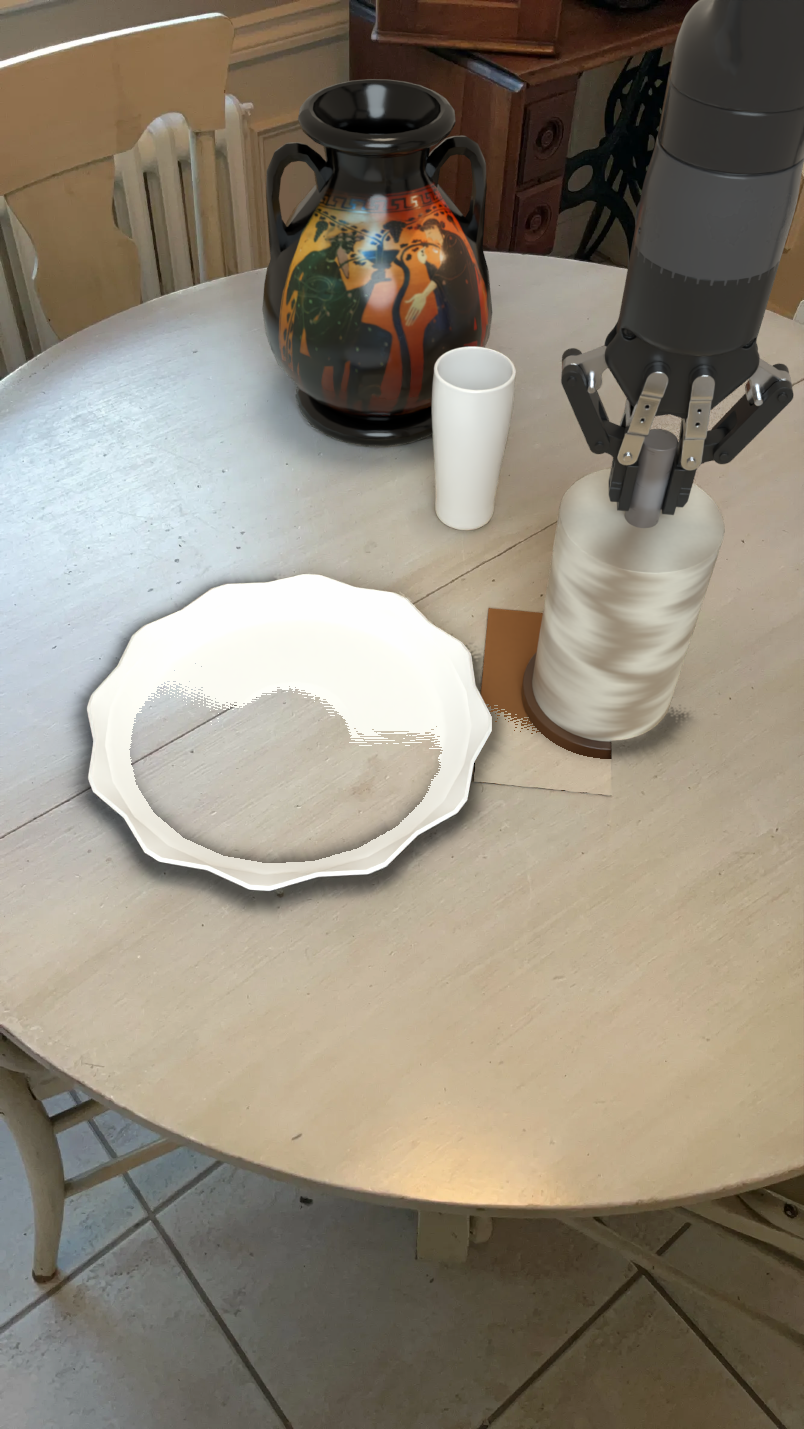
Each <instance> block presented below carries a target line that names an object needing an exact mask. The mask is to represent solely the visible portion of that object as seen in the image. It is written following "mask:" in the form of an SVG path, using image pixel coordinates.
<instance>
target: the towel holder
mask: <svg viewBox="0 0 804 1429" xmlns="http://www.w3.org/2000/svg"><path fill="white" fill-rule="evenodd" d="M678 442H679V438H678V437H677V435H675V434H674V432H672V431H670V430H667V429H664V428H651V429H650V431H649V434H648V436H647V437H645V439H644V442H643V445H642V448H641V451H640V453H639V456H638V464H639V467H638V472H637V476H636V481H635V485H634V490H633V494H632V498H631V503H630V507H629V511H617V502H611V501H610V498H609V483H608V481H609V476H610V471H611V467H608V468H604V469H600V470H596V471H593V472H591V473H589V474H588V473H587V475H583V477H580V478H579V479H577V480H576V481H574V483H572V484H571V485H570V486H569V488H568V489H567V490H566V491H565V493H564V494H563V496H562V498H561V501H560V504H559V509H558V514H557V521H556V527H555V534H554V540H553V547H552V553H551V559H550V565H549V571H548V578H547V584H546V590H545V596H544V603H543V604H544V605H543V608H542V610H543V611H542V613H543V615H542V621H541V628H540V634H539V640H538V647H537V652H536V653H535V654H534V655H533V657H532V658H531V659H530V661H529V663H528V665H527V666H526V669H525V672H524V677H523V684H522V701H523V705H524V708H525V711H526V713H527V715H528V717H529V719H530V720H531V722H532V723H533V724H534V726H535V727H536V728H537V729H538V730H539V731H540V732H541V733H542V734H543V735H544V736H545V737H546V738H548V739H549V740H550V741H552V742H553V743H555V744H556V745H558V746H560V747H562V748H564V749H566V750H568V751H571V752H573V753H576V754H579V755H583V756H587V757H593V758H600V759H612V760H613V755H612V754H613V751H612V750H613V749H612V746H613V744H612V741H623V740H628V739H633V738H636V737H639V736H642V735H644V734H646V733H648V732H650V731H651V730H653V729H654V728H655V727H657V726H658V725H659V724H660V723H661V722H662V721H663V720H664V718H665V717H666V715H667V713H668V712H669V709H670V706H671V704H672V701H673V698H674V694H675V691H676V687H677V685H678V681H679V678H680V675H681V673H682V669H683V667H684V663H685V660H686V657H687V653H688V651H689V647H690V645H691V641H692V638H693V636H694V633H695V628H696V625H697V622H698V619H699V616H700V612H701V611H702V607H703V604H704V600H705V599H706V598H705V597H706V594H707V591H708V588H709V585H710V582H711V578H712V576H713V572H714V569H715V567H716V563H717V560H718V556H719V553H720V551H721V547H722V545H723V541H724V538H725V532H726V531H725V530H726V529H725V528H726V526H725V525H726V524H725V519H724V516H723V514H722V511H721V509H720V507H719V506H718V504H717V503H716V502H715V500H714V499H713V498H712V497H711V496H710V495H709V494H708V493H707V492H706V491H705V490H703V489H702V487H701V488H700V486H698V485H696V484H695V483H693V484H692V488H691V492H690V495H689V499H688V502H687V503H686V504H685V505H684V507H676V509H675V513H674V515H665V514H662V505H663V501H664V497H665V493H666V489H667V486H668V482H669V478H670V474H671V470H672V466H673V462H674V458H675V454H676V450H677V446H678Z"/></svg>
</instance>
